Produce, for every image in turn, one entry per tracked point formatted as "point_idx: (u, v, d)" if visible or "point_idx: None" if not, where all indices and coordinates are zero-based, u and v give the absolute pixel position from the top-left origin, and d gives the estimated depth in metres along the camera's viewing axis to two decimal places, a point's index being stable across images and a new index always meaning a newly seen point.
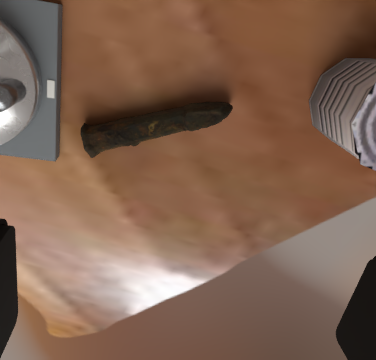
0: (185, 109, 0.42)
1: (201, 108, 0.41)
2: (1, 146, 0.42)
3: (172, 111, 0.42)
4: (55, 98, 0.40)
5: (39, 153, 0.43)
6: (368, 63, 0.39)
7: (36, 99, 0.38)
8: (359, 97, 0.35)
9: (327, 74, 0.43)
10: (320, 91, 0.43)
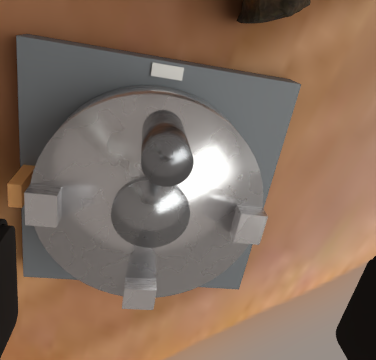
0: None
1: None
2: (261, 168, 0.26)
3: None
4: (184, 66, 0.22)
5: (281, 110, 0.24)
6: None
7: (182, 96, 0.20)
8: None
9: None
10: None
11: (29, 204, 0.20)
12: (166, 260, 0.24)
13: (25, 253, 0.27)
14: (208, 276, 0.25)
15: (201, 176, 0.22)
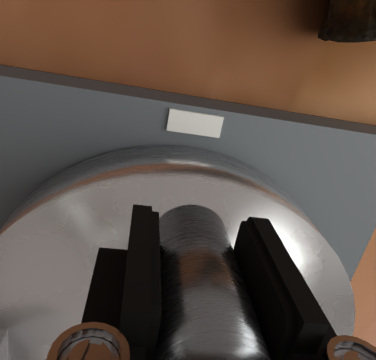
0: None
1: None
2: None
3: None
4: (224, 113, 0.13)
5: None
6: None
7: (223, 173, 0.11)
8: None
9: None
10: None
11: None
12: None
13: None
14: None
15: None
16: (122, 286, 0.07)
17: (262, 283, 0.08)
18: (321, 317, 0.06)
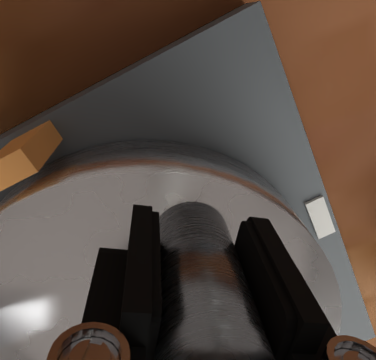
0: None
1: None
2: None
3: None
4: (336, 229, 0.15)
5: None
6: None
7: (230, 174, 0.11)
8: None
9: None
10: None
11: None
12: None
13: None
14: None
15: None
16: (122, 286, 0.07)
17: (262, 283, 0.08)
18: (321, 317, 0.06)
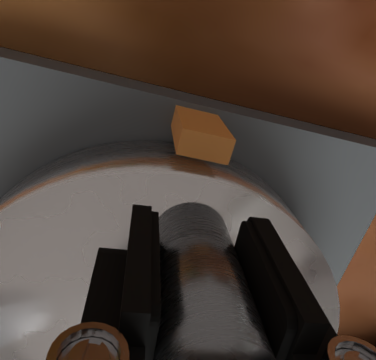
0: None
1: None
2: None
3: None
4: None
5: None
6: None
7: (230, 175, 0.11)
8: None
9: None
10: None
11: None
12: None
13: (0, 62, 0.11)
14: None
15: None
16: (122, 286, 0.07)
17: (262, 283, 0.08)
18: (322, 317, 0.06)
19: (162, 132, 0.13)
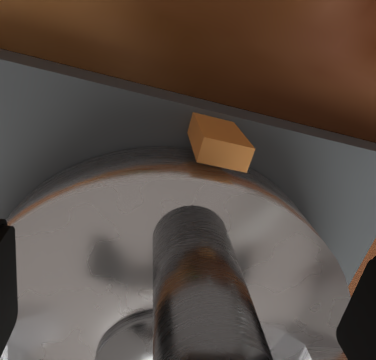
0: None
1: None
2: None
3: None
4: None
5: None
6: None
7: (225, 175, 0.11)
8: None
9: None
10: None
11: None
12: None
13: (22, 70, 0.11)
14: None
15: None
16: None
17: None
18: None
19: (179, 138, 0.13)
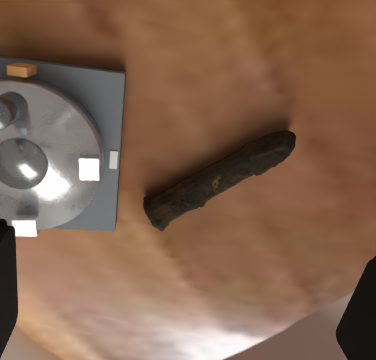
0: (245, 153, 0.38)
1: (264, 148, 0.37)
2: None
3: (232, 159, 0.38)
4: (117, 168, 0.37)
5: (98, 224, 0.40)
6: None
7: (25, 81, 0.31)
8: None
9: None
10: None
11: None
12: (41, 199, 0.34)
13: None
14: (77, 210, 0.35)
15: (49, 135, 0.32)
16: None
17: None
18: None
19: None
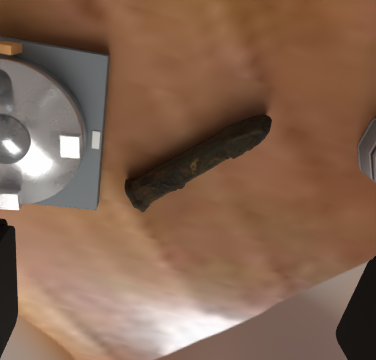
0: (222, 137, 0.39)
1: (240, 132, 0.38)
2: None
3: (209, 143, 0.39)
4: (100, 149, 0.39)
5: (80, 202, 0.41)
6: None
7: (10, 59, 0.32)
8: None
9: None
10: (372, 139, 0.41)
11: None
12: (24, 175, 0.36)
13: None
14: (58, 187, 0.37)
15: (32, 112, 0.33)
16: None
17: None
18: None
19: None
